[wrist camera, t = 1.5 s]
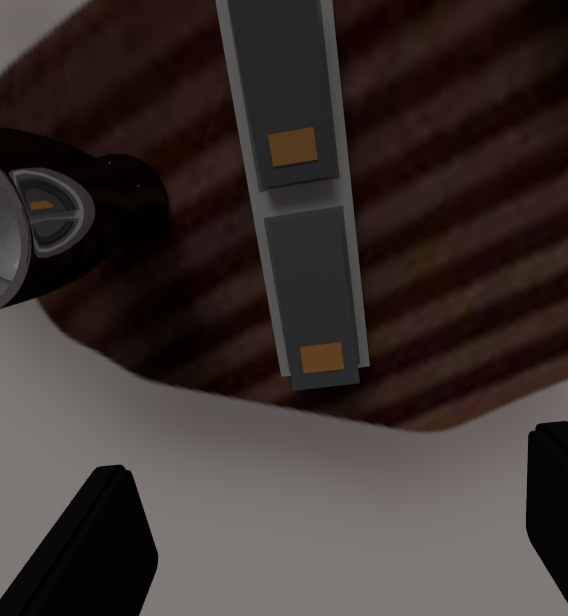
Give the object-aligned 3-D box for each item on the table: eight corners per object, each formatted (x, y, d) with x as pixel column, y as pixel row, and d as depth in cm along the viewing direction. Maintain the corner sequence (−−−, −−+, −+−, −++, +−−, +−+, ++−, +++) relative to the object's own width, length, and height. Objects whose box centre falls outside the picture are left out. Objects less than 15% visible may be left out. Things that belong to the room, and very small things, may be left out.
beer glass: (159, 266, 29) (18, 352, 15) (65, 231, 29) (-173, 284, 14) (186, 169, 27) (52, 162, 13) (85, 130, 27) (-172, 76, 12)
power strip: (223, 3, 24) (211, -21, 21) (324, -18, 23) (327, -46, 20) (283, 358, 31) (281, 377, 28) (363, 348, 30) (369, 367, 27)
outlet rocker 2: (337, 213, 24) (338, 211, 23) (357, 376, 25) (360, 383, 24) (270, 224, 24) (267, 222, 23) (294, 384, 26) (292, 391, 24)
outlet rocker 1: (309, -52, 19) (310, -62, 18) (332, 171, 23) (334, 176, 22) (224, -34, 19) (219, -42, 18) (263, 183, 24) (262, 187, 22)
